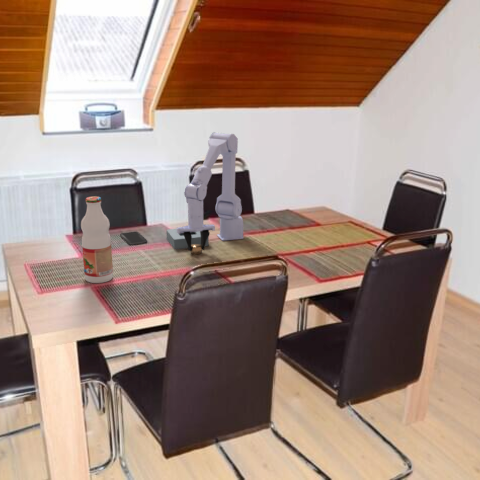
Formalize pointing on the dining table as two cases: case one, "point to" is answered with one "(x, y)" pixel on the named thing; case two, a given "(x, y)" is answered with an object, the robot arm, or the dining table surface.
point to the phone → (133, 238)
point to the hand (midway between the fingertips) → (196, 249)
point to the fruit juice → (96, 243)
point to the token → (196, 249)
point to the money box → (183, 239)
